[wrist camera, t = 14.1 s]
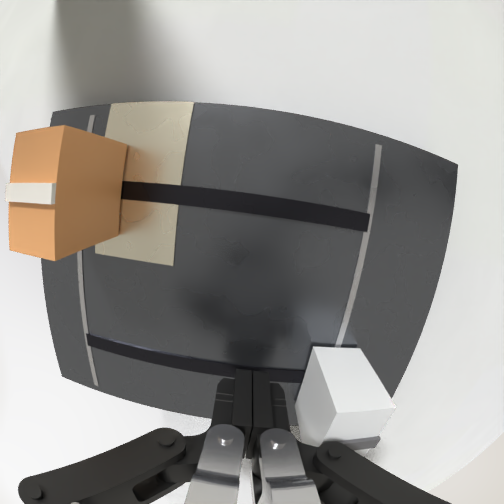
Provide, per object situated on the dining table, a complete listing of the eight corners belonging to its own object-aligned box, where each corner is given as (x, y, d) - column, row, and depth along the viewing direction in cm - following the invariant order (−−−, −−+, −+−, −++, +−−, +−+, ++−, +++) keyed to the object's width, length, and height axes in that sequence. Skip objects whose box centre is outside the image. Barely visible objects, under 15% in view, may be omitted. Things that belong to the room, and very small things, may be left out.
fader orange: (127, 144, 10) (60, 123, 5) (118, 235, 11) (51, 262, 6) (82, 145, 10) (12, 132, 5) (75, 229, 11) (6, 251, 6)
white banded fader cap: (360, 348, 12) (398, 410, 7) (337, 405, 13) (359, 468, 8) (313, 346, 12) (338, 416, 7) (294, 405, 13) (307, 473, 8)
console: (441, 165, 12) (459, 164, 10) (372, 406, 15) (379, 421, 14) (68, 116, 11) (51, 111, 10) (72, 365, 15) (61, 377, 13)
